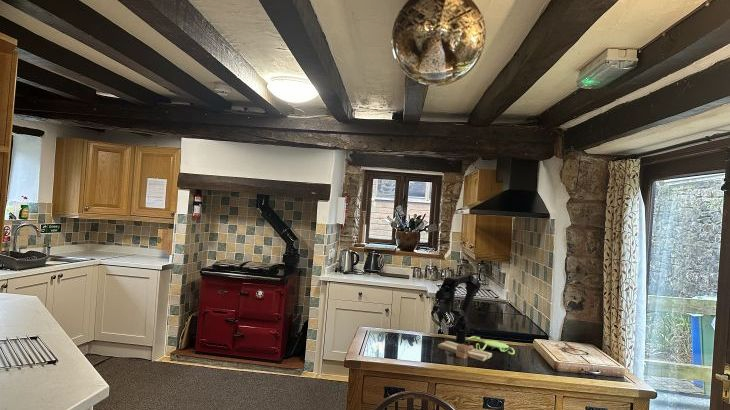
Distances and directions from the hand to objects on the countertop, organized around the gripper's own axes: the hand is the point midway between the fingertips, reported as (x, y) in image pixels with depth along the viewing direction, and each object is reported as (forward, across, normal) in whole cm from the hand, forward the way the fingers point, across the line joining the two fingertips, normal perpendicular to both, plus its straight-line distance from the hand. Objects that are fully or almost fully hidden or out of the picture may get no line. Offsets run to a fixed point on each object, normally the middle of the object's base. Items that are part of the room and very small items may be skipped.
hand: (446, 324), depth 282 cm
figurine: (+13, +20, +17) cm, 30 cm away
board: (+12, +14, -3) cm, 19 cm away
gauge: (+12, +17, -7) cm, 22 cm away
